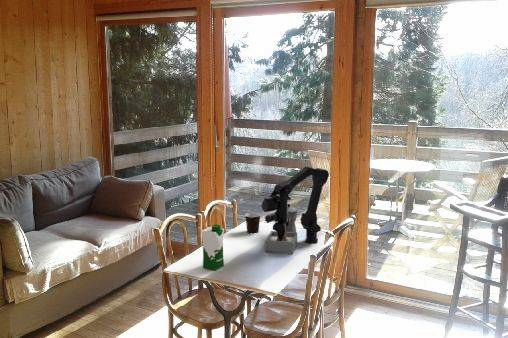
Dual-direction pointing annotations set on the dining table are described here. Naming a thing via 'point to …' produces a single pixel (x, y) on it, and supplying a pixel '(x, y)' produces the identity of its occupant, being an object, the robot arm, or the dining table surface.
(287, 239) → the bore box
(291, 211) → the coffeepot
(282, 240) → the peg
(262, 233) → the dining table surface
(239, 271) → the dining table surface
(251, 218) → the coffee mug
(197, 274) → the dining table surface
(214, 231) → the milk carton
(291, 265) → the dining table surface
